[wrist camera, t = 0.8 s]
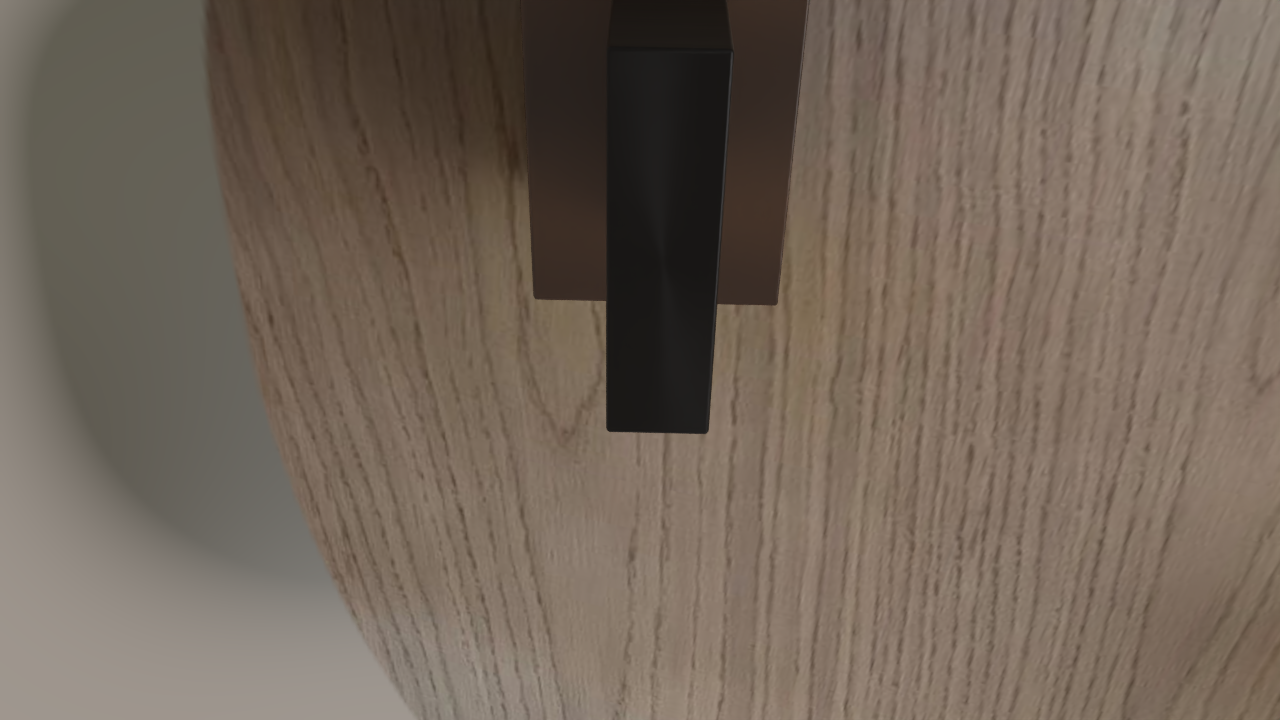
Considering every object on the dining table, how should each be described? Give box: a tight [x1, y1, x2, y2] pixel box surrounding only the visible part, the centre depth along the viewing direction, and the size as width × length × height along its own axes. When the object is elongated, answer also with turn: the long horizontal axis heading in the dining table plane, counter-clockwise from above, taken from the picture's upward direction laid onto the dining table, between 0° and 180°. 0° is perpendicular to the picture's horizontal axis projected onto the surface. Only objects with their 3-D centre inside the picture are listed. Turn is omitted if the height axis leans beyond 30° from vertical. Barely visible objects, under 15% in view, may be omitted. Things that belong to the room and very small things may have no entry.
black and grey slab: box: [606, 0, 734, 434], centre depth 23 cm, size 8×2×13 cm, turn 179°
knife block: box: [520, 0, 810, 305], centre depth 27 cm, size 12×6×6 cm, turn 179°
